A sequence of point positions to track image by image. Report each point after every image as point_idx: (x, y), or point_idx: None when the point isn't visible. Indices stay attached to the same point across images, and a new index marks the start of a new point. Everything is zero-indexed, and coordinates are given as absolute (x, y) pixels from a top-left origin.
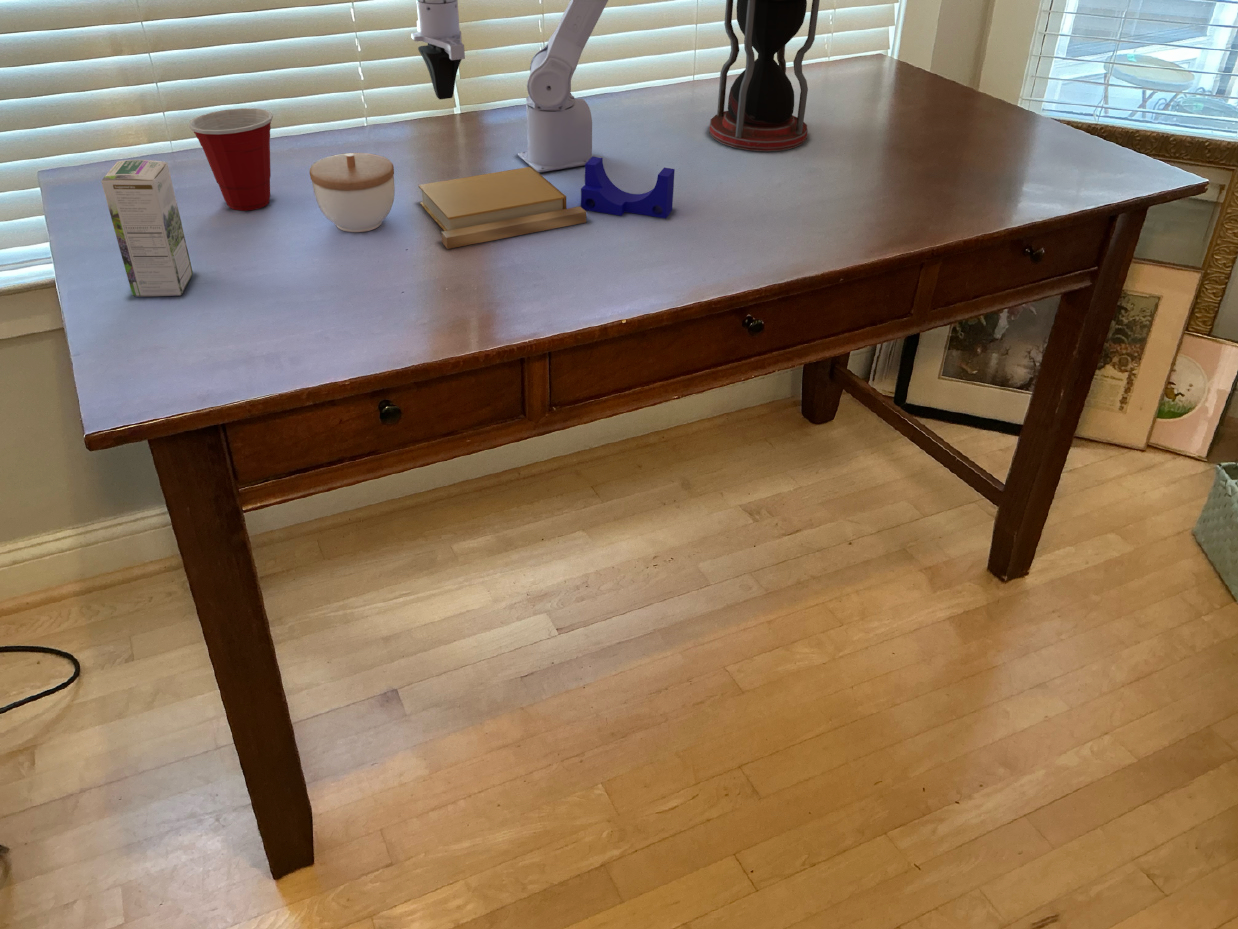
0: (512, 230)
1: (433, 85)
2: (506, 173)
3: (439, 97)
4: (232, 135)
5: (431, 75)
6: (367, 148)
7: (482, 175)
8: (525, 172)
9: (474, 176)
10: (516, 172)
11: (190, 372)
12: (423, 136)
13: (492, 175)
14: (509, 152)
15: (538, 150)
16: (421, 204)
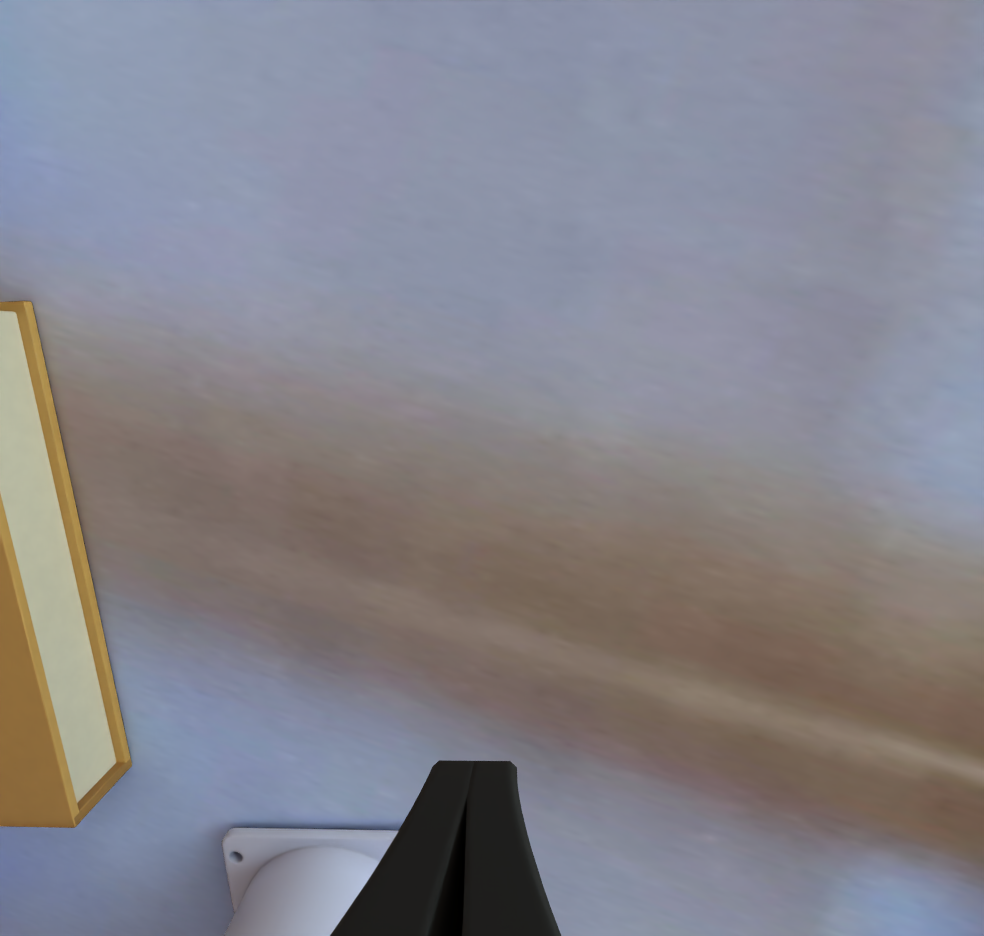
0: None
1: (497, 831)
2: (16, 714)
3: (430, 772)
4: None
5: (475, 933)
6: (825, 245)
7: (11, 617)
8: (10, 784)
9: (4, 581)
10: (20, 753)
11: None
12: (849, 563)
13: (4, 655)
14: None
15: (244, 916)
16: (11, 302)
